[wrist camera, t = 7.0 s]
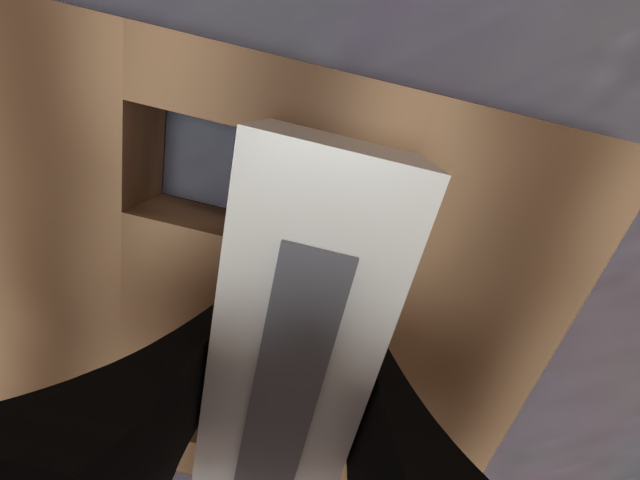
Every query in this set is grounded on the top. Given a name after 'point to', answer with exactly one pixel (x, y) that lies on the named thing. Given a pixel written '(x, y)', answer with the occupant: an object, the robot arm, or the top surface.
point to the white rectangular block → (307, 296)
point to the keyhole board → (208, 221)
